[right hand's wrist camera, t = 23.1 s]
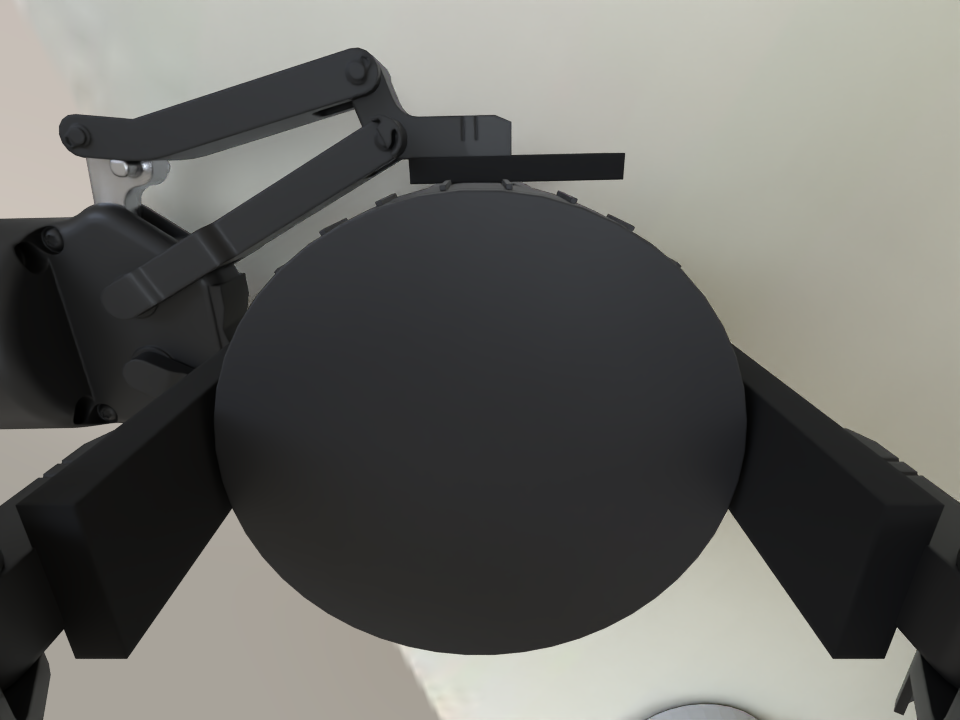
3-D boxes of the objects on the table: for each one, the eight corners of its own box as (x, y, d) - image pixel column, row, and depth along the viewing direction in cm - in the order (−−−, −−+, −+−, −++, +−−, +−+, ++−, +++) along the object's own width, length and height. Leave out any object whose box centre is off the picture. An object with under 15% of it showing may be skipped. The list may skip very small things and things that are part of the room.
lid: (463, 640, 15) (459, 721, 13) (164, 392, 12) (96, 443, 10) (786, 430, 12) (850, 487, 10) (506, 56, 9) (513, 28, 7)
